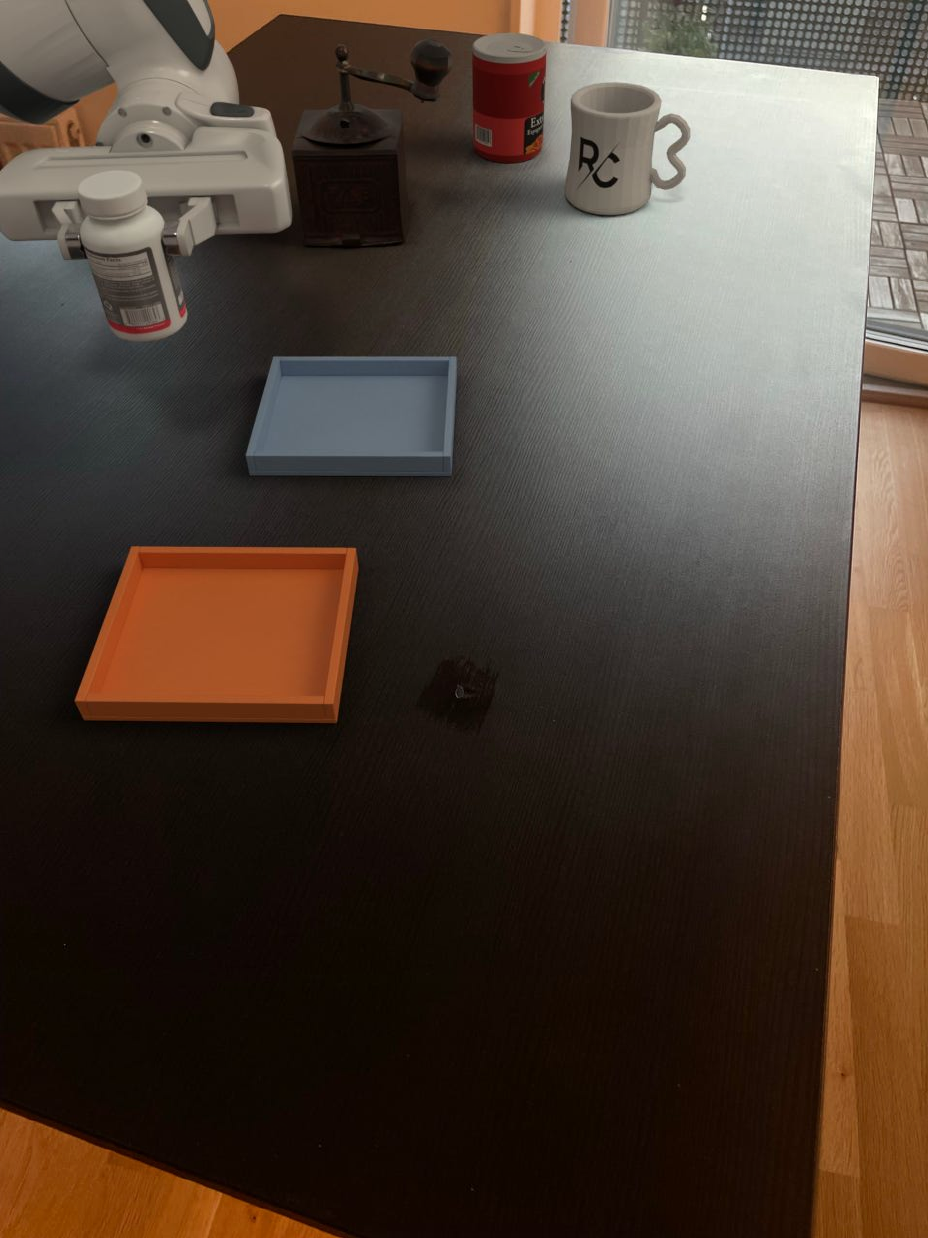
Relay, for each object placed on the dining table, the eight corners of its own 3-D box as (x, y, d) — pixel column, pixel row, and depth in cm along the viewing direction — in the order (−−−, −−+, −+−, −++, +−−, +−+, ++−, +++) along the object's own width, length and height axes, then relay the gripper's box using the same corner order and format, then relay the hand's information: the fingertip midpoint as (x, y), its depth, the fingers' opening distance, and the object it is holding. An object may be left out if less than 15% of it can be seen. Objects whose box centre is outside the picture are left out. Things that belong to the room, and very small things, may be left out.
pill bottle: (141, 297, 72) (101, 159, 64) (204, 311, 70) (170, 172, 63) (94, 335, 68) (46, 194, 61) (159, 351, 67) (118, 209, 60)
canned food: (539, 165, 111) (543, 57, 103) (468, 162, 112) (466, 54, 104) (546, 137, 116) (550, 32, 108) (478, 134, 117) (477, 30, 109)
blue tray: (249, 475, 75) (245, 455, 74) (276, 375, 84) (273, 355, 82) (451, 476, 74) (450, 456, 73) (457, 375, 83) (456, 356, 82)
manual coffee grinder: (300, 250, 99) (271, 51, 85) (312, 200, 106) (287, 9, 93) (456, 248, 98) (452, 48, 85) (457, 198, 106) (454, 7, 93)
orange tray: (83, 720, 60) (74, 701, 58) (138, 566, 68) (131, 545, 67) (336, 723, 59) (333, 703, 58) (358, 567, 68) (356, 547, 67)
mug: (554, 211, 103) (559, 110, 96) (575, 175, 109) (582, 76, 102) (672, 227, 100) (687, 124, 93) (688, 189, 106) (703, 89, 99)
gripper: (4, 116, 71) (-58, 204, 62) (291, 107, 71) (272, 194, 62) (34, 203, 76) (-20, 297, 66) (303, 194, 76) (287, 287, 66)
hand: (124, 247), depth 64 cm, fingers closed on pill bottle, 5 cm apart
